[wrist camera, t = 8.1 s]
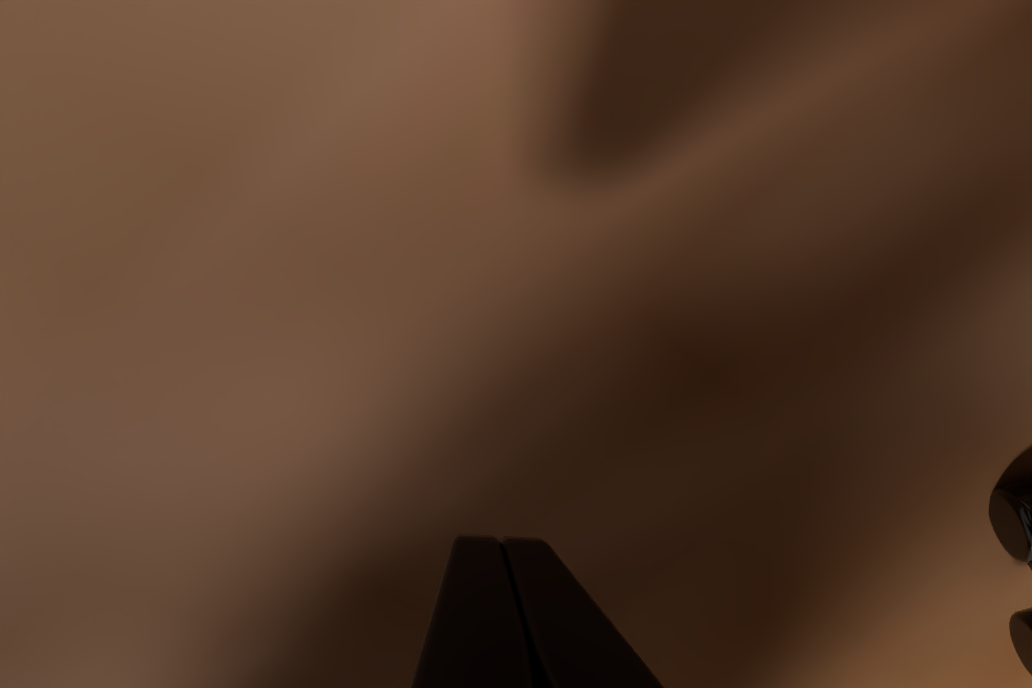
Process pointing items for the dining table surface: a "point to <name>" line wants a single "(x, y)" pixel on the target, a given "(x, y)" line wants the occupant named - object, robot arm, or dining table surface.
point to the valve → (1016, 551)
